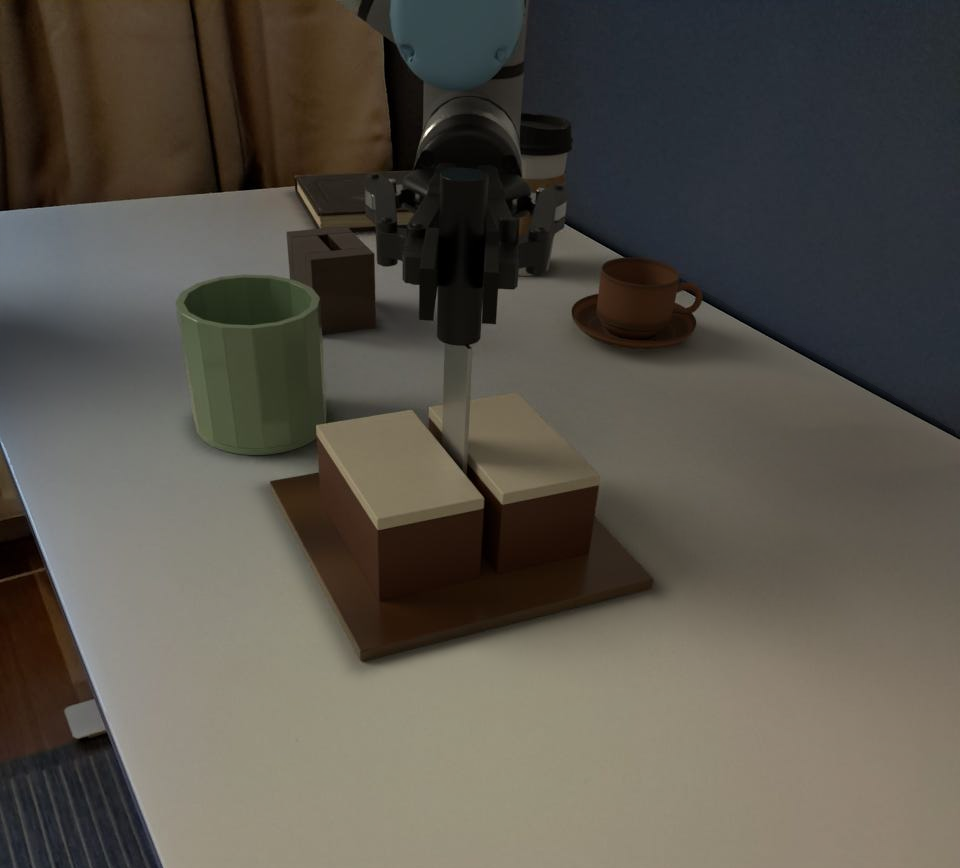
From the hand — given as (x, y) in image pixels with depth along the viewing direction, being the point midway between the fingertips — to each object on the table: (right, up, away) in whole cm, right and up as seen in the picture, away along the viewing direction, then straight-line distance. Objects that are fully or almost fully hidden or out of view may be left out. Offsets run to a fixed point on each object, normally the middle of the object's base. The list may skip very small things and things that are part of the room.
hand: (458, 296), depth 51 cm
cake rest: (-4, -11, +14) cm, 19 cm away
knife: (-1, -10, +15) cm, 18 cm away
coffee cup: (+6, +23, +57) cm, 62 cm away
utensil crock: (-16, -1, +27) cm, 32 cm away
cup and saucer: (+16, +12, +44) cm, 49 cm away
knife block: (-13, +14, +44) cm, 48 cm away
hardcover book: (-9, +36, +71) cm, 80 cm away
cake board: (-1, -11, +16) cm, 20 cm away
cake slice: (+3, -9, +17) cm, 20 cm away
